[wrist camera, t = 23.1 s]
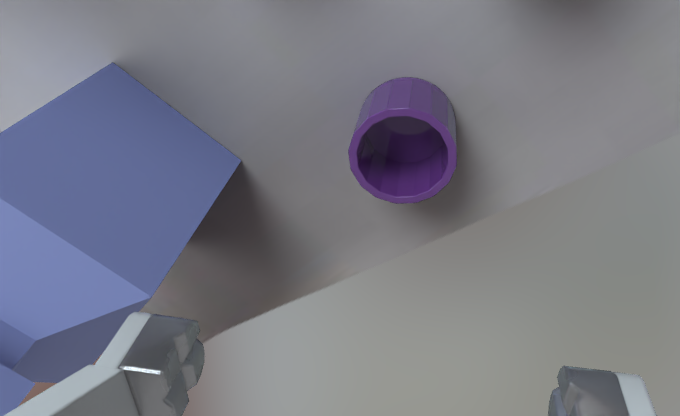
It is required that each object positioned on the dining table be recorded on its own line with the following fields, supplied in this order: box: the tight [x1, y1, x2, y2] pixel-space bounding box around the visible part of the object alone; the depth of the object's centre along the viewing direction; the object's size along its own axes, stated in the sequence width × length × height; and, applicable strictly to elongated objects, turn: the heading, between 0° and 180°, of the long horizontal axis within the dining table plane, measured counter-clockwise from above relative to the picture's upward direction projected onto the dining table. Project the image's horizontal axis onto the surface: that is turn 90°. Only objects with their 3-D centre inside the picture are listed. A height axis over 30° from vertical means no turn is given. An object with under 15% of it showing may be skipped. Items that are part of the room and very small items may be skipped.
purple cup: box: [348, 77, 457, 204], centre depth 33 cm, size 6×6×5 cm
